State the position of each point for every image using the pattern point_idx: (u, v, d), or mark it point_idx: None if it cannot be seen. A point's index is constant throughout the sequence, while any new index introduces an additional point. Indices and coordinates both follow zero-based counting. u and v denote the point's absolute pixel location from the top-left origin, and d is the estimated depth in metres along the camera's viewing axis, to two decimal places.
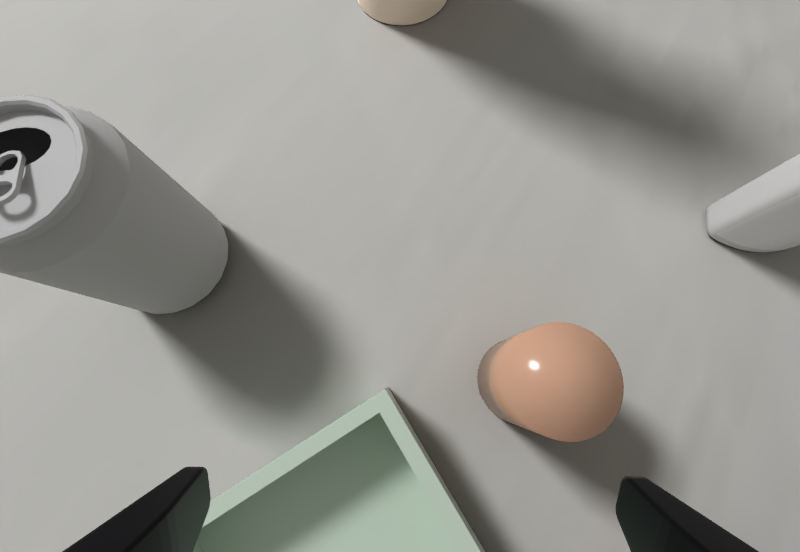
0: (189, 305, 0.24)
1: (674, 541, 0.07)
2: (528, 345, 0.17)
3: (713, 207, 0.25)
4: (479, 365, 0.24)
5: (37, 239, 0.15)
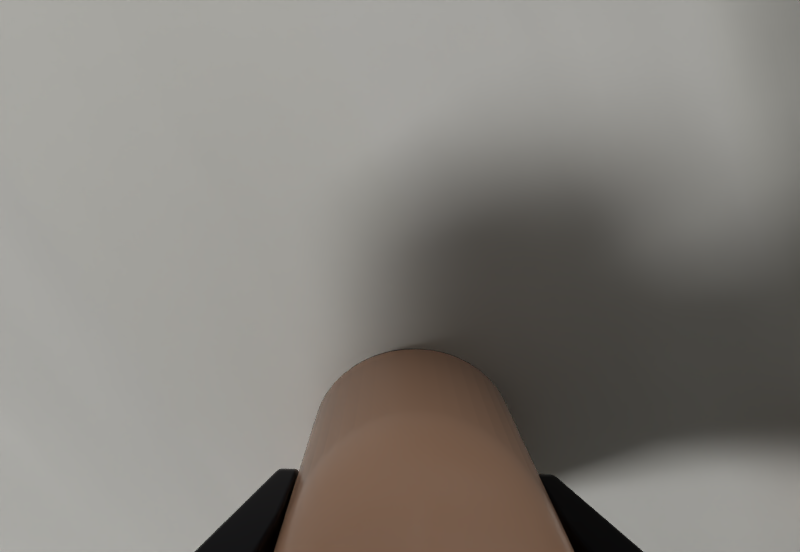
0: None
1: None
2: None
3: None
4: None
5: None
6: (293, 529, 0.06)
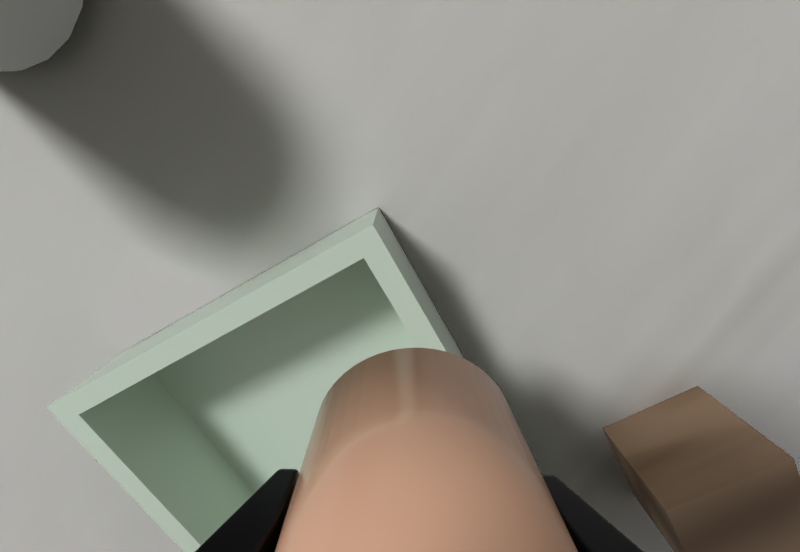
0: (40, 58, 0.14)
1: None
2: None
3: None
4: None
5: None
6: (295, 526, 0.06)
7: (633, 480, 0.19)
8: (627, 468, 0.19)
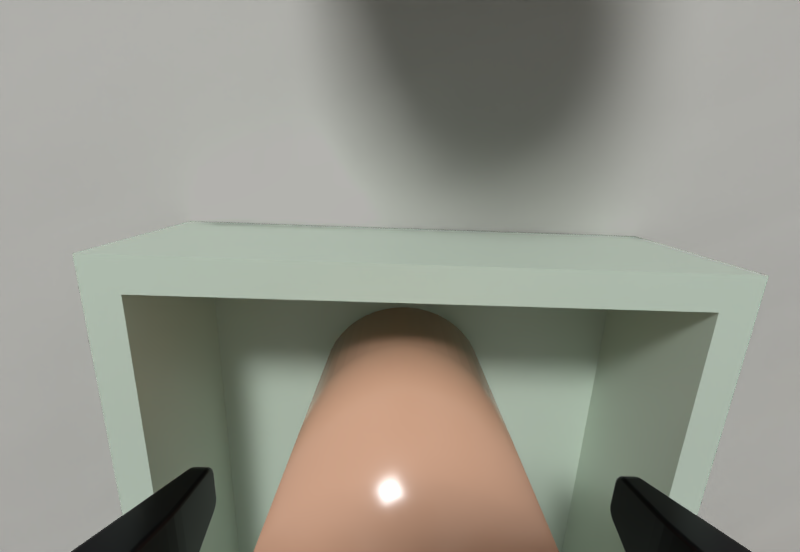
0: None
1: (667, 541, 0.07)
2: None
3: None
4: None
5: None
6: (315, 407, 0.08)
7: None
8: None
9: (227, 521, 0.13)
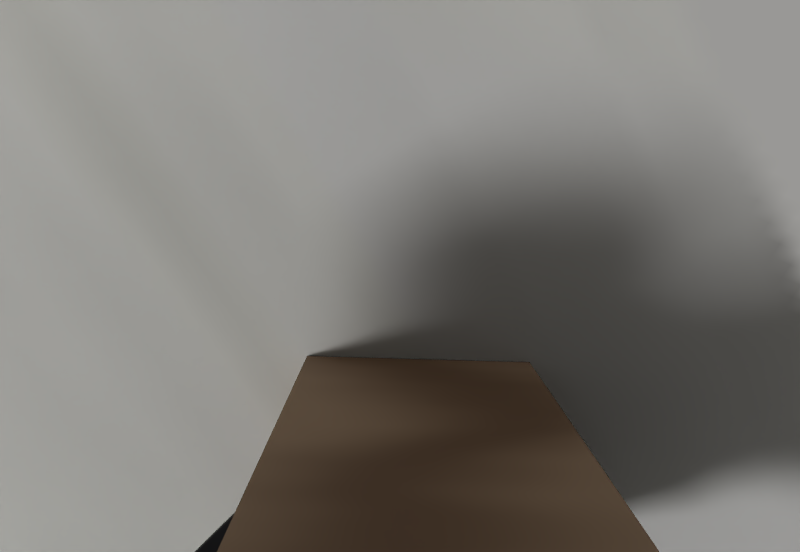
0: None
1: None
2: None
3: None
4: None
5: None
6: None
7: None
8: None
9: None
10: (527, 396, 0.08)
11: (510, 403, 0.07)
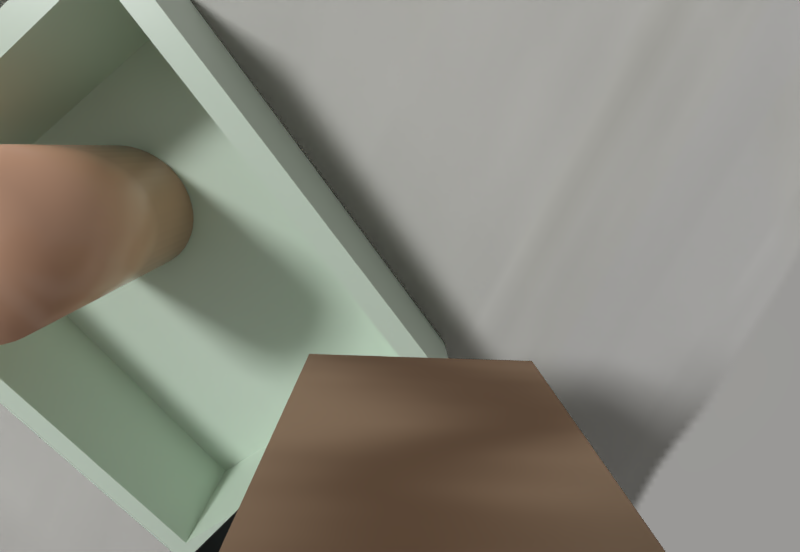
0: None
1: None
2: None
3: None
4: None
5: None
6: None
7: None
8: None
9: (116, 380, 0.18)
10: (530, 395, 0.08)
11: (513, 401, 0.07)
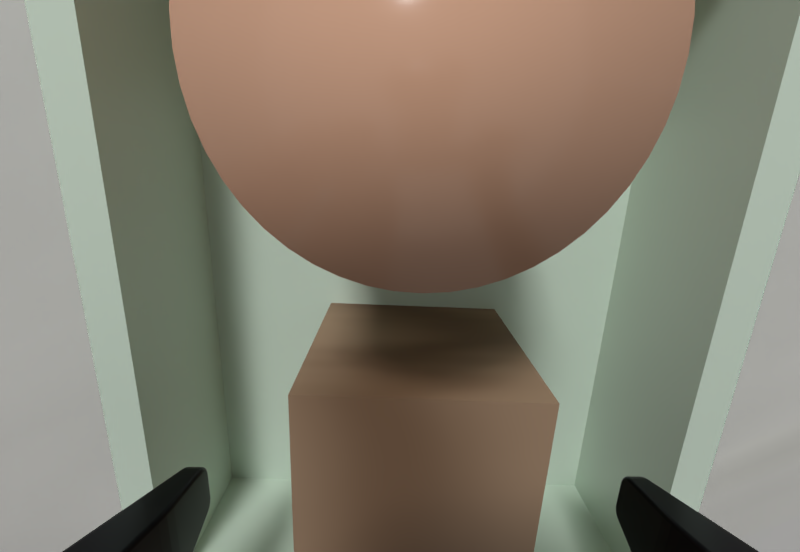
0: None
1: (674, 541, 0.07)
2: (215, 38, 0.04)
3: None
4: None
5: None
6: None
7: None
8: None
9: (204, 298, 0.11)
10: (488, 326, 0.11)
11: (475, 329, 0.11)
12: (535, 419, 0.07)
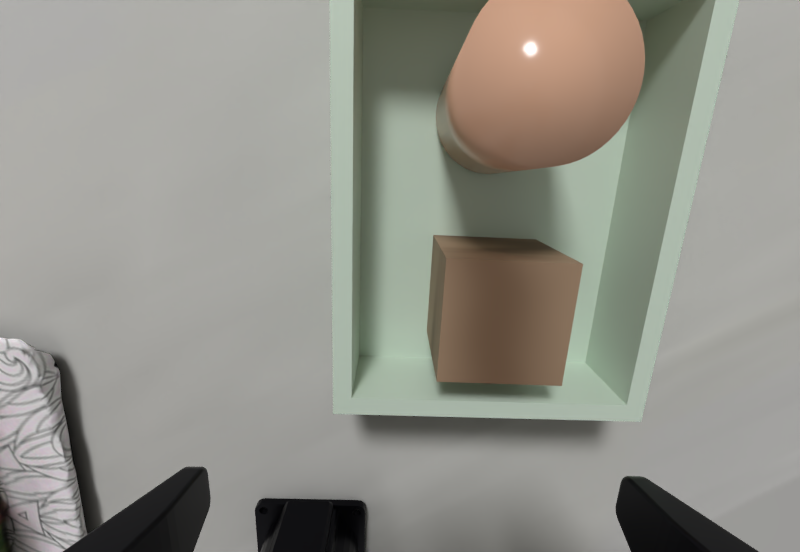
0: None
1: (674, 541, 0.07)
2: (478, 57, 0.11)
3: None
4: (437, 131, 0.18)
5: None
6: None
7: None
8: None
9: (359, 229, 0.18)
10: (535, 244, 0.18)
11: (528, 245, 0.18)
12: (570, 272, 0.14)
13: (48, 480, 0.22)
